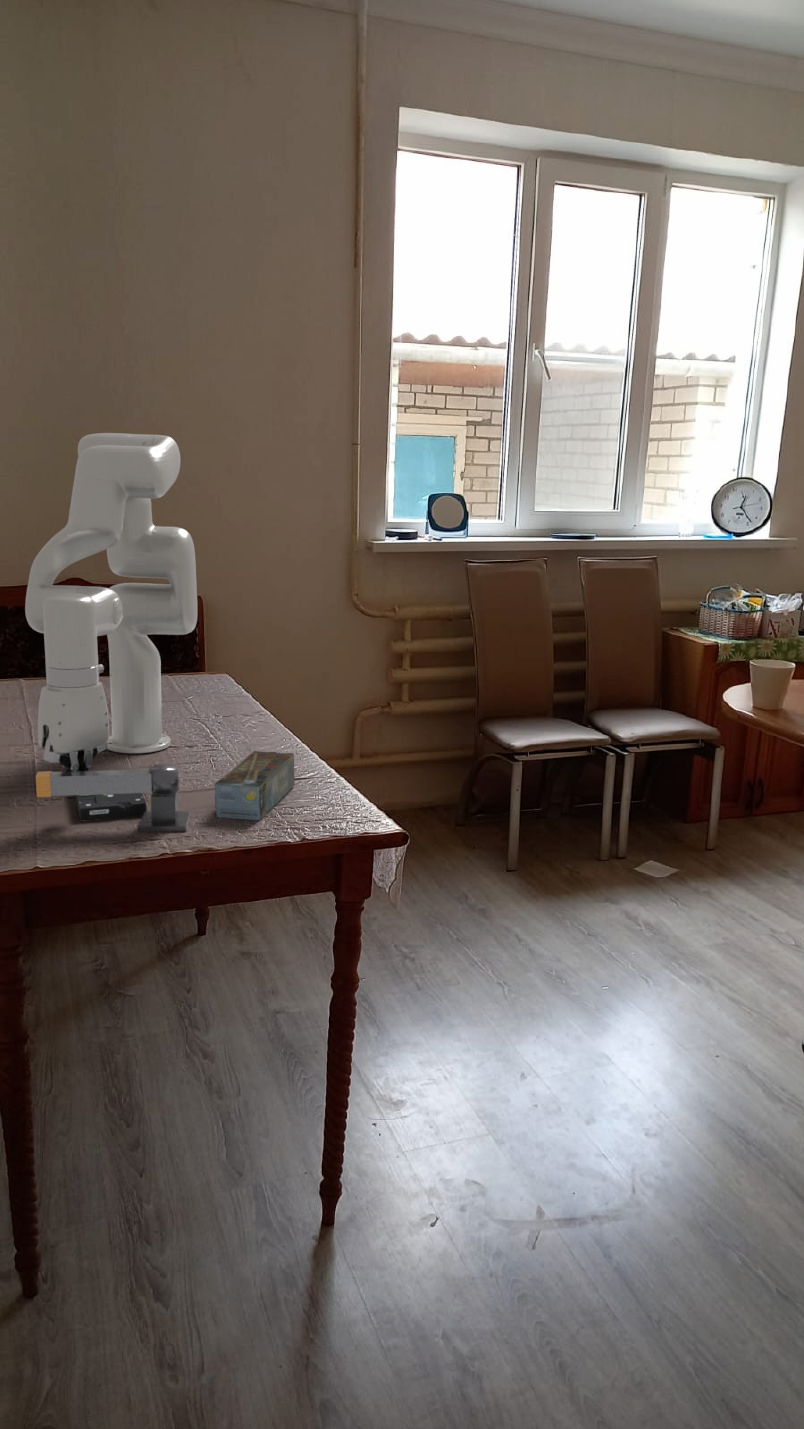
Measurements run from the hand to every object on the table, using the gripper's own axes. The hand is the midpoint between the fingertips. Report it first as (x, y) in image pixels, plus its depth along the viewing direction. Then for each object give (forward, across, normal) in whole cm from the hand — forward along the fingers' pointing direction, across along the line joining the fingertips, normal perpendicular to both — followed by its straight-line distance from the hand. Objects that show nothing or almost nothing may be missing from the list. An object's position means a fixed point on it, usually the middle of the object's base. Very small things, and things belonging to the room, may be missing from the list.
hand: (78, 792), depth 162 cm
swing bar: (-1, -1, +6) cm, 6 cm away
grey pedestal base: (+4, -8, +11) cm, 14 cm away
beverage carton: (+5, -25, +13) cm, 29 cm away
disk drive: (+5, -8, -3) cm, 10 cm away
